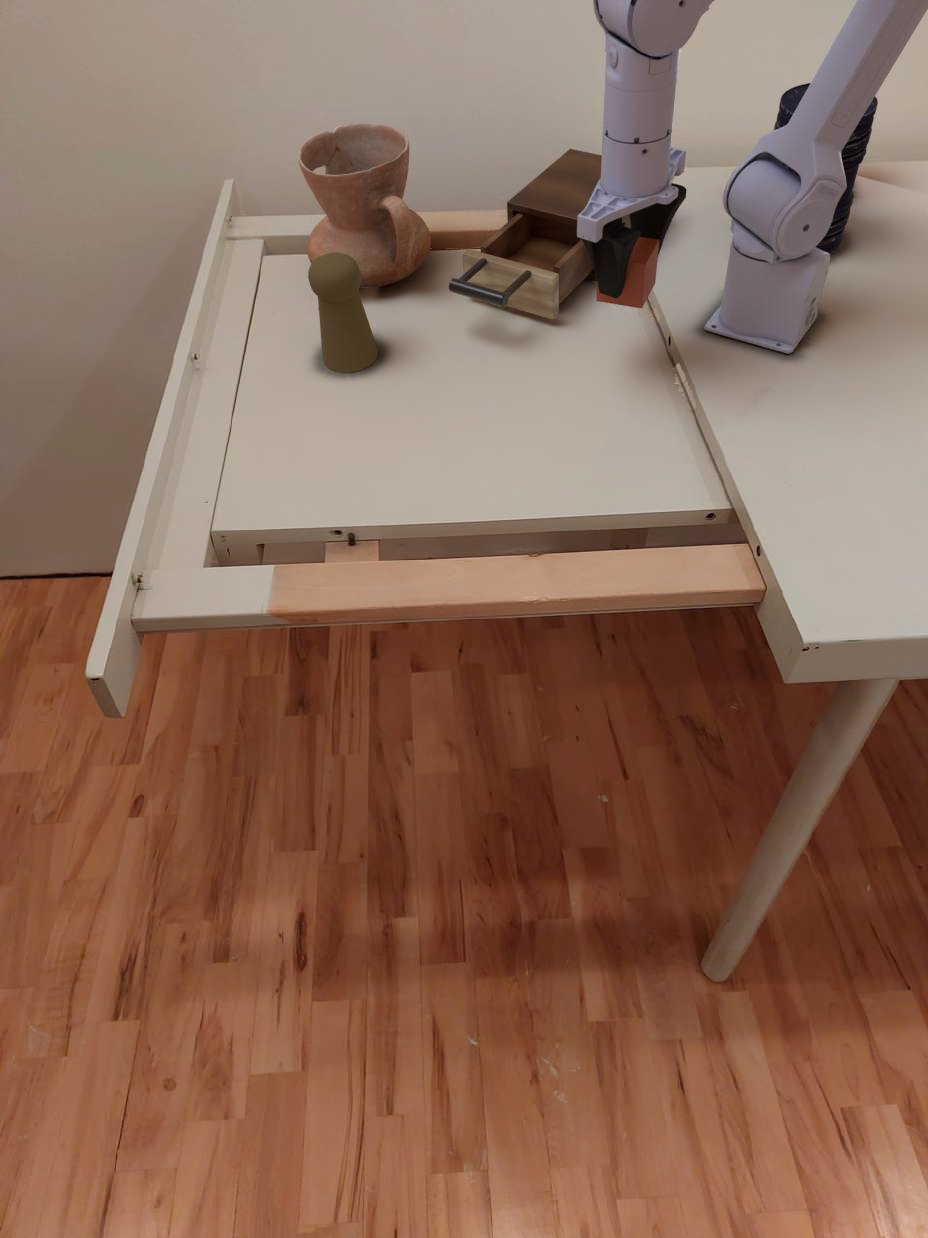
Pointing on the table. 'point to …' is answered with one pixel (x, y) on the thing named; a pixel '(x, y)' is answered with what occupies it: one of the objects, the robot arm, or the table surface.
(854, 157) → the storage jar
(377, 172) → the ceramic jug
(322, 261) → the olive green pawn
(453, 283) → the drawer
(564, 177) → the cabinet
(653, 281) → the block
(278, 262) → the table surface
